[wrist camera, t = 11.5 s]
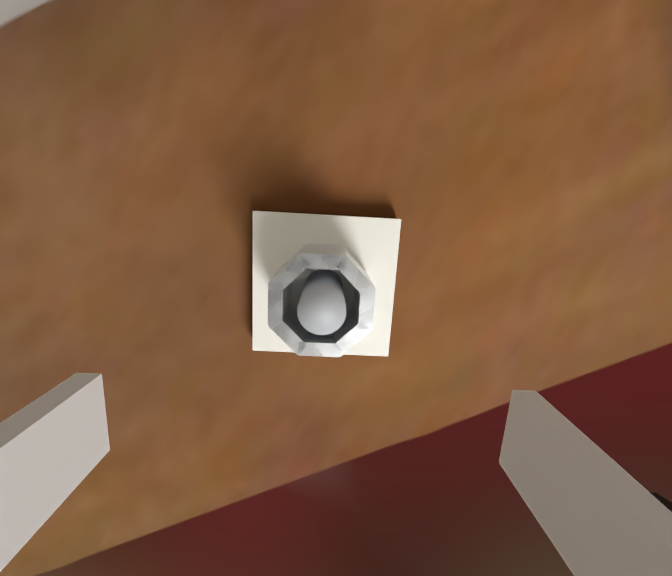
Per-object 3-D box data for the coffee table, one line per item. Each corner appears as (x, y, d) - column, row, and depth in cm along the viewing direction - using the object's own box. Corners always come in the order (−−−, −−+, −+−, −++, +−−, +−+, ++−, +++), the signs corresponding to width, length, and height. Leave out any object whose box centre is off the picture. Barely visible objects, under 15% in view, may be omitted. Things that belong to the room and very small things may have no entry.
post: (256, 343, 32) (230, 391, 24) (256, 210, 29) (227, 212, 21) (385, 349, 32) (404, 398, 24) (397, 218, 30) (423, 223, 21)
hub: (279, 325, 30) (267, 353, 24) (281, 242, 29) (268, 251, 23) (362, 329, 30) (369, 358, 24) (368, 246, 29) (378, 257, 23)
